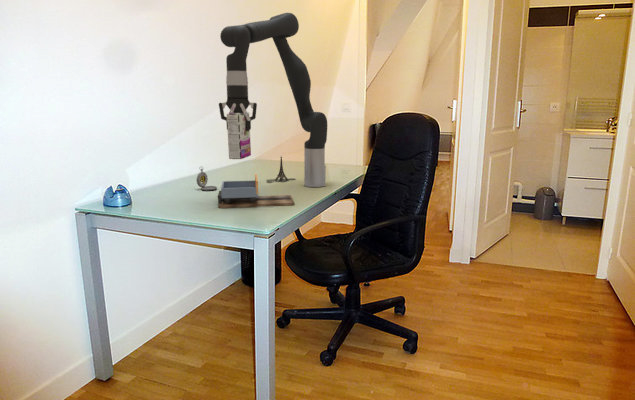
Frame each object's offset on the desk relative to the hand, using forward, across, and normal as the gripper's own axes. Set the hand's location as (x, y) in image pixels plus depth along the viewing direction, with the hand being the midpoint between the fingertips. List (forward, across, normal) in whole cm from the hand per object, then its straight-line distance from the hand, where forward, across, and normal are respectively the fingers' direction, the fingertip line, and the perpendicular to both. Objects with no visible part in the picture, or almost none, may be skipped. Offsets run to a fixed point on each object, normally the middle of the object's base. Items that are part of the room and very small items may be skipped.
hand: (238, 131), depth 166 cm
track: (+27, -6, 0) cm, 28 cm away
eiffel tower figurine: (+28, -19, -46) cm, 57 cm away
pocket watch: (+27, +15, -29) cm, 42 cm away
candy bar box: (+10, 0, 0) cm, 10 cm away
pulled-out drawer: (+26, 0, 0) cm, 26 cm away
